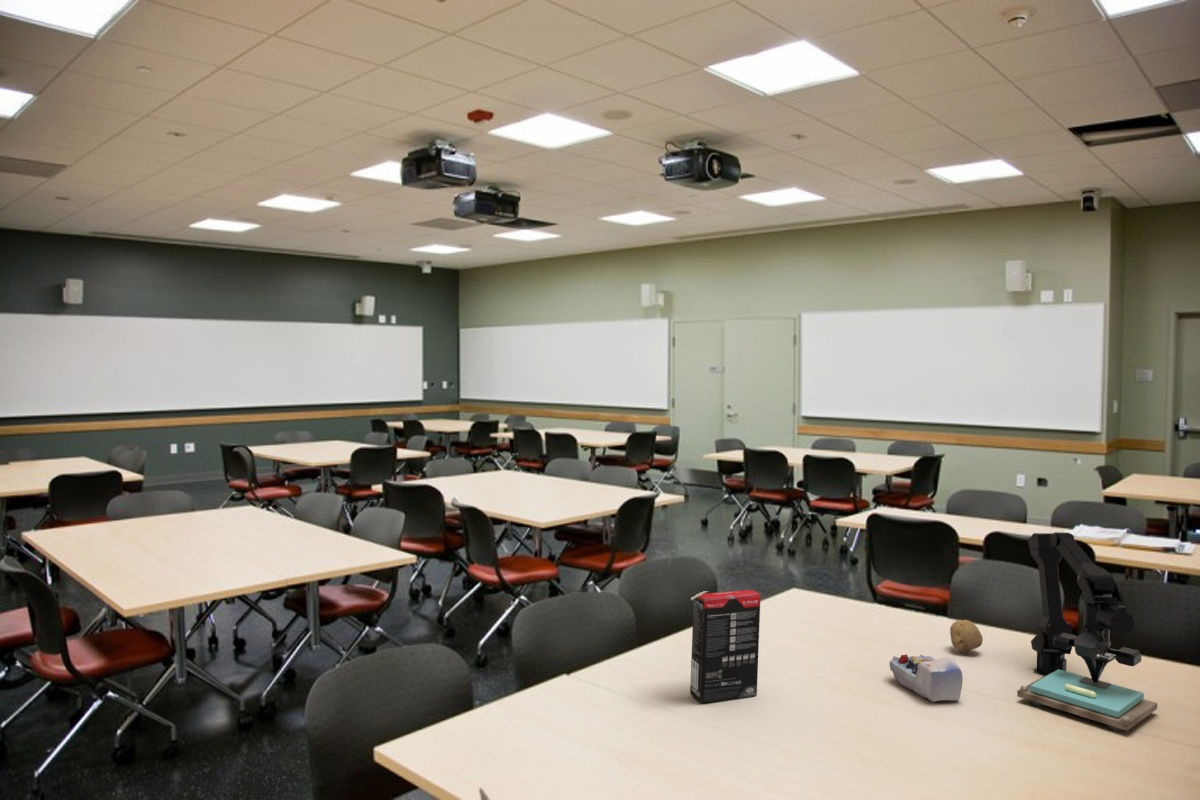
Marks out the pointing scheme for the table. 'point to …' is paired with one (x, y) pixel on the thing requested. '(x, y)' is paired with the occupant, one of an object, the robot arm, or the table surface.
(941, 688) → the cell model
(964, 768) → the table surface
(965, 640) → the potato
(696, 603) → the graphics card box
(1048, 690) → the plate
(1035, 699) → the base
